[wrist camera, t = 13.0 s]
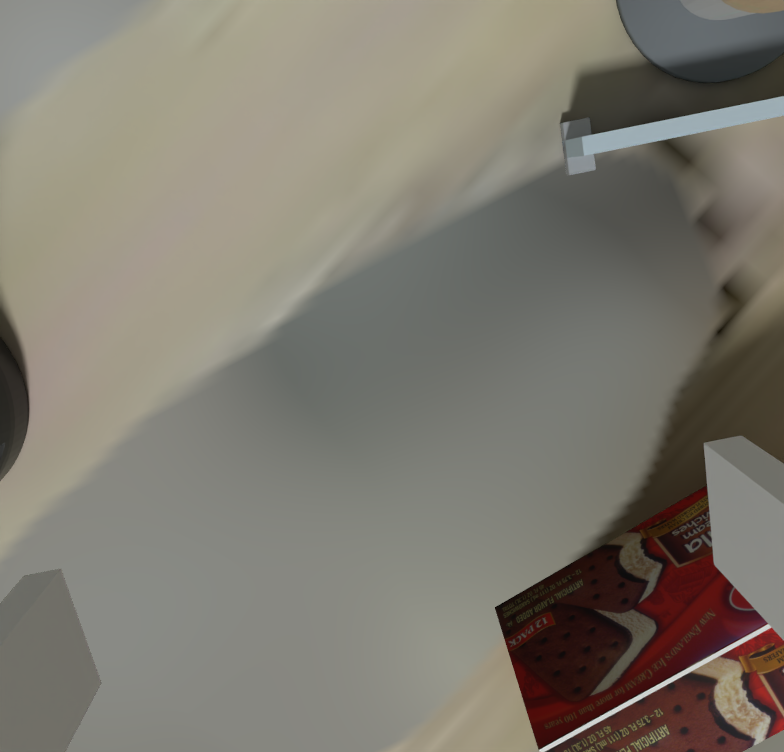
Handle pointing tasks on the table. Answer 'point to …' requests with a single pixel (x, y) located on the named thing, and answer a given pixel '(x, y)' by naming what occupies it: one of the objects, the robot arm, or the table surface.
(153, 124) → the table surface
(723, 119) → the grey bar handle
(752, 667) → the ice cream box
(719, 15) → the coffee cup
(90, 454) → the table surface
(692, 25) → the coaster
